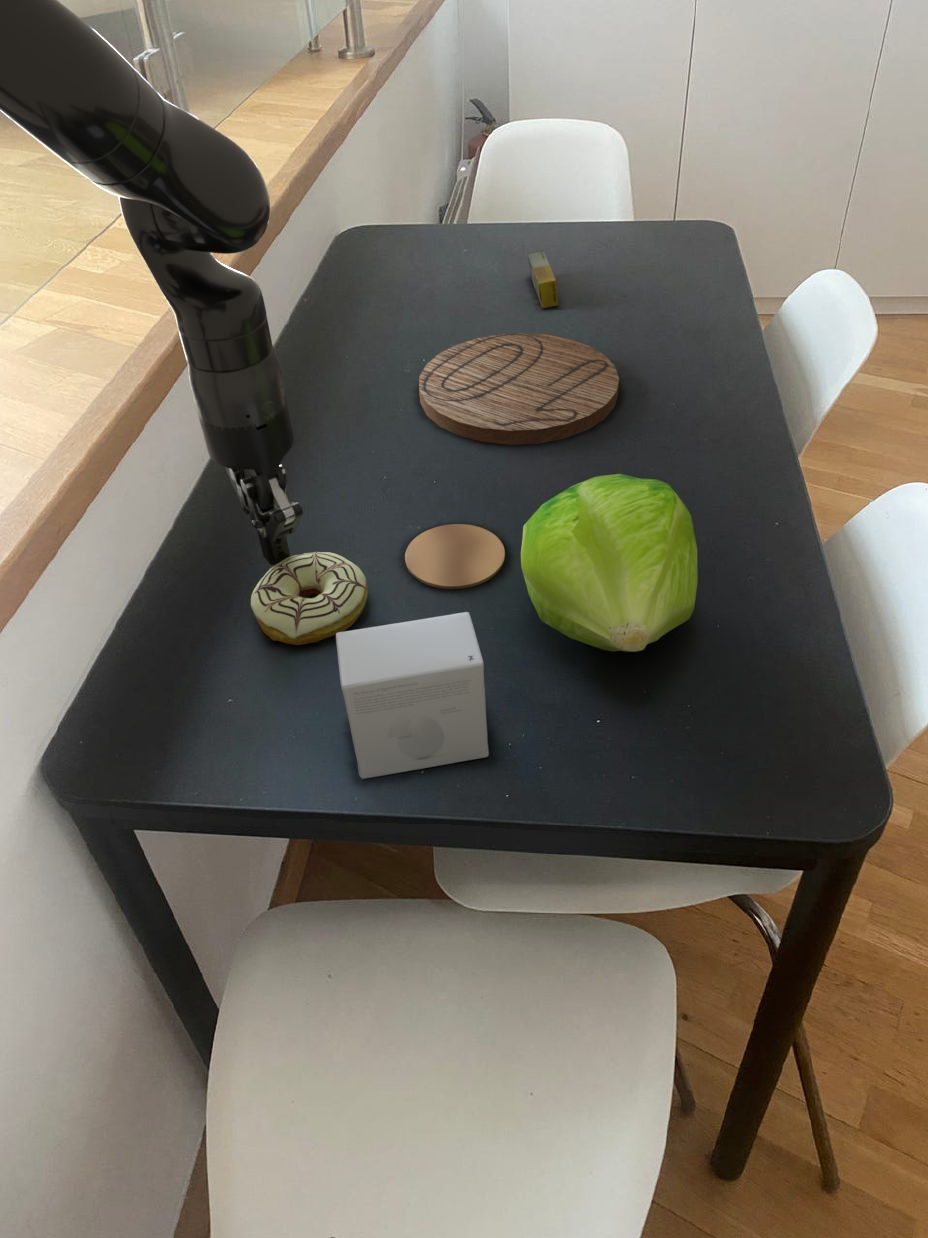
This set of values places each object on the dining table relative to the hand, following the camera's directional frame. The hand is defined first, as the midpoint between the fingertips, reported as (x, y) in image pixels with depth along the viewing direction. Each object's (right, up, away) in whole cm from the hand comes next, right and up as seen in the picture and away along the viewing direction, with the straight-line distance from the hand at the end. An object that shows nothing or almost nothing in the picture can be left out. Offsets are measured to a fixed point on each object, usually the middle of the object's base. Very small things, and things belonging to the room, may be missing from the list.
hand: (277, 558), depth 90 cm
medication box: (+30, +43, +48) cm, 71 cm away
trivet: (+25, +23, +27) cm, 43 cm away
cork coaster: (+17, 0, +2) cm, 18 cm away
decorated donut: (+4, -5, -3) cm, 7 cm away
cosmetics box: (+15, -16, -15) cm, 26 cm away
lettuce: (+31, -7, -6) cm, 32 cm away
